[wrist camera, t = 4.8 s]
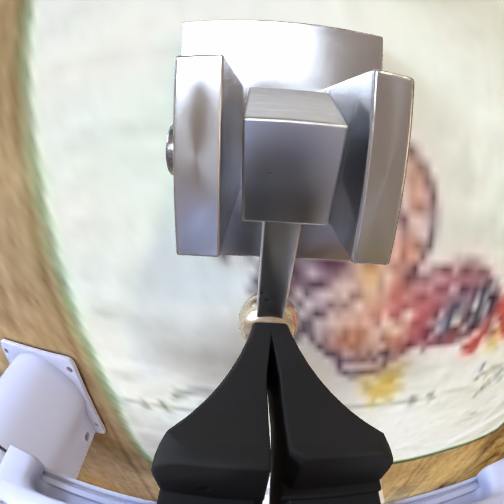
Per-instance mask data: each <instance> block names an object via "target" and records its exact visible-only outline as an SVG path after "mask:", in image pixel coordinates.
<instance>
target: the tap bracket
mask: <svg viewBox="0 0 504 504" xmlns="http://www.w3.org/2000/svg"><path fill="white" fill-rule="evenodd" d="M382 58H383V38H382V37H380V36H376V35H372V34H367V33H362V32H357V31H352V30H346V29H340V28H334V27H327V26H320V25H312V24H304V23H293V22H281V21H263V20H209V21H191V22H184V23H183V31H182V46H181V56H177V57H176V59H175V81H174V117H173V125H172V126H171V127H170V129H169V132H168V136H167V142H166V161H167V166H168V170H169V172H170V174H171V175H174V209H175V232H176V250H177V254H178V255H193V256H212V257H218V256H219V255H238V256H258V257H260V248H261V233H262V222H259V221H244V220H243V219H242V130H243V115H244V110H245V105H246V100H247V96H248V91H249V88H251V87H260V88H278V89H291V90H303V91H313V92H322V93H328V94H330V96H331V97H332V99H333V101H334V102H335V104H336V106H337V108H338V109H339V111H340V113H341V115H342V117H343V118H344V120H345V122H346V124H347V126H348V131H347V137H346V142H345V147H344V152H343V157H342V162H341V166H340V171H339V176H338V180H337V185H336V190H335V194H334V198H333V203H332V207H331V211H330V216H329V220H328V223H327V225H311V224H301V229H300V235H299V241H298V246H297V252H296V258H297V259H317V260H337V261H351V262H353V263H362V264H384V265H387V264H389V261H390V257H391V253H392V248H393V244H394V239H395V234H396V229H397V224H398V219H399V213H400V208H401V202H402V196H403V190H404V183H405V177H406V170H407V162H408V154H409V145H410V136H411V125H412V113H413V98H414V79H412V78H411V77H407V76H404V75H399V74H395V73H391V72H387V71H382Z"/></svg>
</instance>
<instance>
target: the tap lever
mask: <svg viewBox="0 0 504 504" xmlns="http://www.w3.org/2000/svg"><path fill="white" fill-rule="evenodd" d="M347 131H348V126H347V124H346V122H345V120H344V118H343V117H342V115H341V113H340V111H339V109H338V108H337V106H336V104H335V102H334V101H333V99H332V97H331V96H330V94H328V93H322V92H313V91H303V90H291V89H278V88H260V87H251V88H249V91H248V96H247V100H246V105H245V110H244V115H243V130H242V219H243V220H244V221H259V222H262V233H261V248H260V264H259V279H258V294H256V295H254V296H253V297H251V298H250V299H249V300H248V301H247V302H246V303H245V304H244V305H243V307H242V309H241V311H240V314H239V329H240V332H241V335H242V337H243V338H244V339H245V341H246V342H247V340H248V337H249V335H250V332H251V328H252V324H253V323H255V322H262V323H286V324H287V325H288V327H289V329H290V332H291V334H292V336H293V338H294V336H295V334H296V332H297V329H298V314H297V311H296V309H295V307H294V305H293V304H292V302H291V301H290V300H289V299H288V294H289V289H290V284H291V279H292V274H293V268H294V263H295V258H296V252H297V246H298V241H299V235H300V229H301V224H311V225H327V223H328V220H329V216H330V211H331V207H332V203H333V198H334V194H335V190H336V185H337V180H338V176H339V171H340V166H341V162H342V157H343V152H344V147H345V142H346V137H347Z"/></svg>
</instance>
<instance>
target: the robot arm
mask: <svg viewBox="0 0 504 504" xmlns="http://www.w3.org/2000/svg"><path fill="white" fill-rule="evenodd" d="M0 344H1V346H2V349H3V351H4V353H5V355H6V357H7V359H8V361H9V363H10V365H9V367H8V368H7V369H6V371H5V372H4V373H3V375H2V376H1V378H0V504H262V502H263V500H264V497H265V493H266V489H267V485H268V480H269V476H270V494H269V504H381V502H380V497H379V491H380V490H381V484H380V479H381V478H382V477H383V475H384V474H385V473H386V472H387V471H388V469H389V468H390V467H391V465H392V463H393V456H392V453H391V449H390V447H389V444H388V442H387V440H386V438H385V436H384V434H383V433H382V432H380V431H379V430H377V429H375V428H374V427H372V426H371V425H369V424H367V423H366V422H364V421H363V420H362V419H360V418H359V417H358V416H356V415H355V414H354V413H352V412H351V411H350V410H349V409H348V408H347V407H346V406H344V405H343V404H342V403H341V402H340V401H339V400H338V399H337V398H336V397H335V396H334V395H333V394H332V393H331V392H330V391H329V390H328V389H327V388H326V386H325V385H324V384H323V383H322V382H321V380H320V379H319V378H318V377H317V375H316V374H315V373H314V371H313V370H312V368H311V367H310V366H309V364H308V363H307V361H306V359H305V358H304V356H303V355H302V353H301V351H300V350H299V348H298V346H297V344H296V342H295V340H294V338H293V336H292V334H291V332H290V329H289V327H288V325H287V324H286V323H262V322H255V323H253V324H252V328H251V332H250V335H249V337H248V340H247V342H246V344H245V346H244V348H243V350H242V352H241V354H240V356H239V357H238V359H237V361H236V362H235V364H234V365H233V367H232V369H231V370H230V372H229V373H228V374H227V376H226V377H225V379H224V380H223V381H222V382H221V384H220V385H219V386H218V387H217V388H216V389H215V391H214V392H213V393H212V394H211V395H210V396H209V397H208V398H207V399H206V400H205V401H204V402H203V403H202V404H201V405H200V406H199V407H198V408H196V409H195V410H194V411H193V412H192V413H191V414H190V415H188V416H187V417H186V418H184V419H183V420H182V421H180V422H179V423H177V424H176V425H175V426H173V427H172V428H170V429H169V430H168V431H167V432H166V434H165V435H164V437H163V439H162V440H161V442H160V444H159V446H158V449H157V451H156V453H155V456H154V460H153V464H152V468H151V471H152V474H153V476H154V478H155V480H156V482H157V484H158V486H159V488H160V491H159V496H158V500H157V502H153V501H149V500H144V499H140V498H136V497H132V496H128V495H124V494H120V493H117V492H113V491H110V490H106V489H103V488H100V487H97V486H94V485H91V484H88V483H85V482H82V481H79V480H76V479H77V477H78V475H79V472H80V469H81V467H82V464H83V462H84V459H85V457H86V454H87V452H88V449H89V447H90V445H91V442H92V440H93V437H94V435H95V433H96V432H97V433H101V434H105V432H106V429H105V427H104V425H103V423H102V421H101V419H100V417H99V415H98V413H97V411H96V409H95V407H94V405H93V403H92V401H91V398H90V396H89V394H88V392H87V390H86V387H85V385H84V383H83V381H82V378H81V376H80V374H79V371H78V369H77V366H76V364H75V362H74V360H73V359H72V358H70V357H67V356H63V355H59V354H55V353H51V352H47V351H44V350H40V349H36V348H33V347H29V346H26V345H22V344H19V343H16V342H12V341H9V340H6V339H2V340H1V341H0ZM267 393H268V400H267ZM268 404H269V414H270V424H271V448H270V436H269V421H268ZM382 504H504V459H501V460H499V461H497V462H494V463H492V464H490V465H488V466H487V467H485V468H484V469H483V470H482V471H480V472H479V474H478V475H477V476H476V477H473V478H470V479H468V480H465V481H462V482H459V483H457V484H454V485H451V486H448V487H445V488H442V489H438V490H435V491H432V492H428V493H425V494H421V495H417V496H413V497H410V498H405V499H401V500H397V501H392V502H387V503H382Z"/></svg>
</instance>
